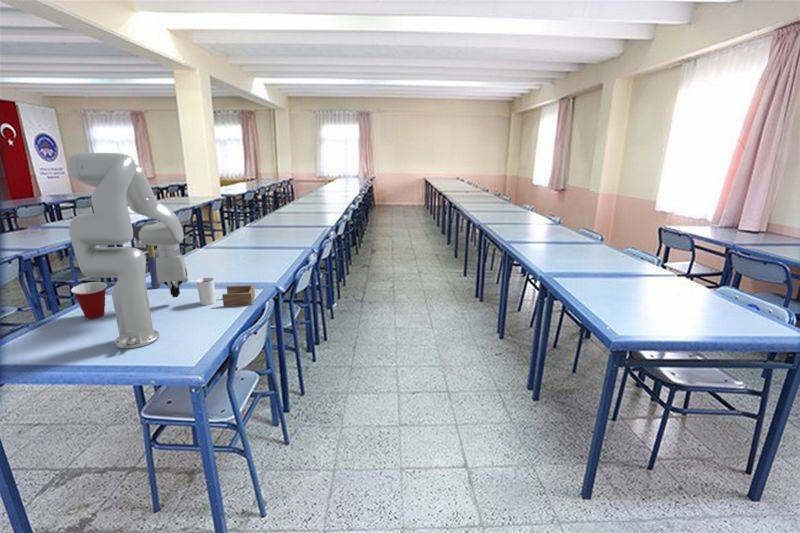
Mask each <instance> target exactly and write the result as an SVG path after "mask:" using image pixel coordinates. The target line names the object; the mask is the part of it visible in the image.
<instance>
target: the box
mask: <svg viewBox="0 0 800 533" xmlns="http://www.w3.org/2000/svg"><path fill="white" fill-rule="evenodd" d="M226 292H227V293H222V303H223V307H233V306H232V305H239V306H252V305H253V303H254V300H255V296H256V294H255V293H256V290H255V285H254V284H248V285H247V284H246V285H229V286H228V285H227V286H226Z"/></svg>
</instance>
